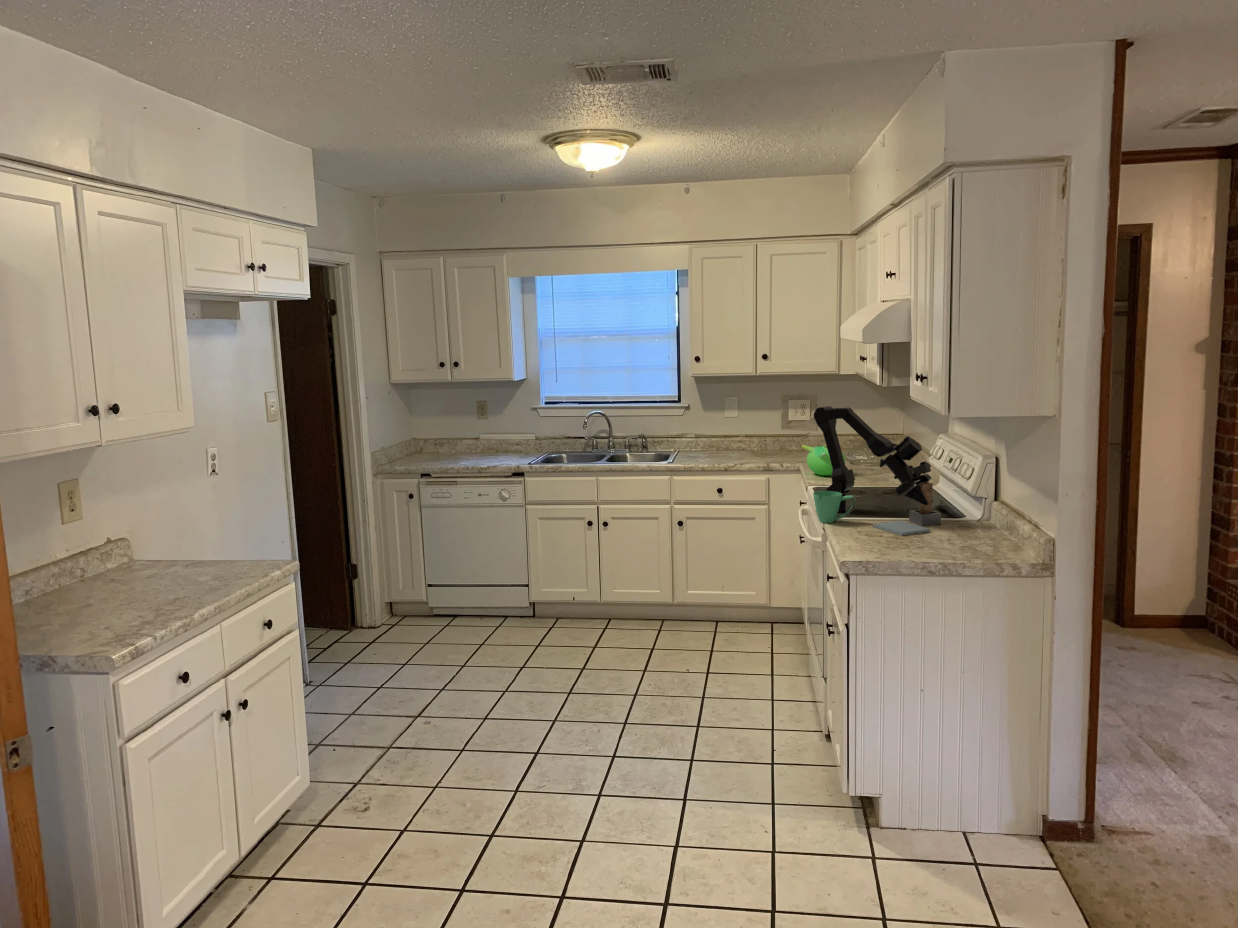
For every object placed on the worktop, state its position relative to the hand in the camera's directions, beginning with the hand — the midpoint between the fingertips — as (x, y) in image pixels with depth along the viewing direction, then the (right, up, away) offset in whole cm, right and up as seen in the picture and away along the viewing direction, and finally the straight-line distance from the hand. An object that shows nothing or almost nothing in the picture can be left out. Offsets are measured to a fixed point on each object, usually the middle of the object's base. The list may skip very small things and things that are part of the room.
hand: (929, 503), depth 305 cm
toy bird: (-14, +8, +97) cm, 98 cm away
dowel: (-1, -7, +2) cm, 7 cm away
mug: (-32, -7, +5) cm, 33 cm away
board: (-12, -8, -7) cm, 16 cm away
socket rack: (-1, -7, +2) cm, 7 cm away
